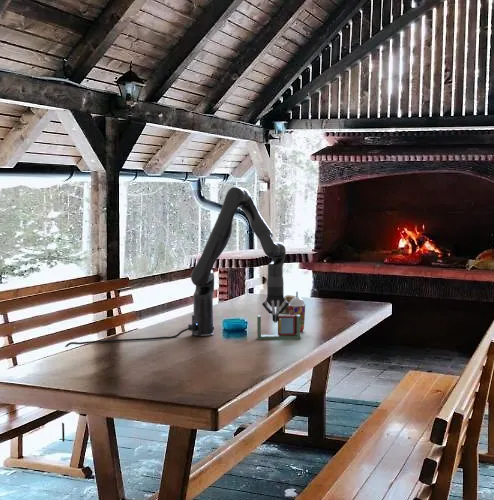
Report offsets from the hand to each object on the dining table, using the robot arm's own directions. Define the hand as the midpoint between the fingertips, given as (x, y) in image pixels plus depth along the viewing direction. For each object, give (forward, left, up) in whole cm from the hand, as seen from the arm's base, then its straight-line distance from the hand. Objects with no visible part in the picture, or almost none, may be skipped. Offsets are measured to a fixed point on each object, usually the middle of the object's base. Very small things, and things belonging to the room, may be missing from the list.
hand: (275, 322), depth 340 cm
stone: (+56, +58, -9) cm, 81 cm away
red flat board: (+5, -2, -7) cm, 9 cm away
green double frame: (+4, +3, -9) cm, 10 cm away
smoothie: (+21, +10, -9) cm, 25 cm away
